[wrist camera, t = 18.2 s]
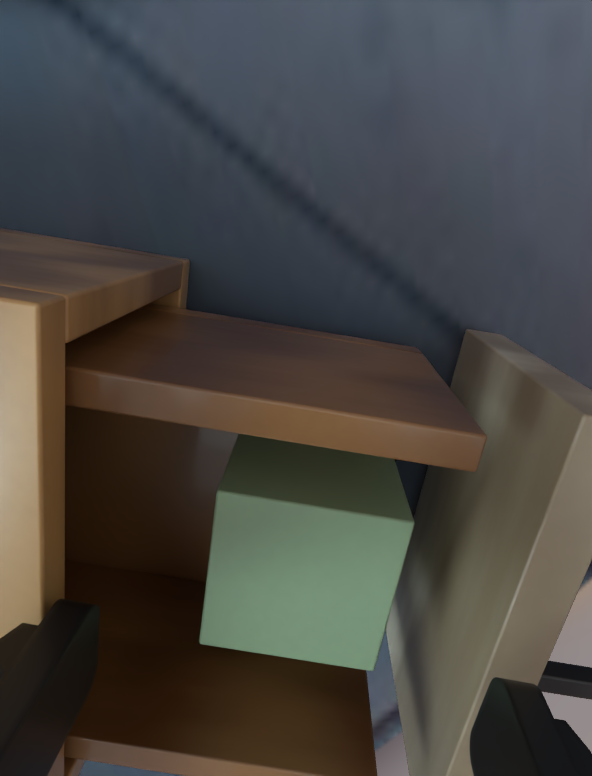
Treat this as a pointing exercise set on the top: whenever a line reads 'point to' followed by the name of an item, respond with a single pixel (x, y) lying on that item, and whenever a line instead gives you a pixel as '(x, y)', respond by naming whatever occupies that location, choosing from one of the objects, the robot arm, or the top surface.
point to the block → (305, 552)
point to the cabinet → (53, 397)
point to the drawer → (335, 431)
